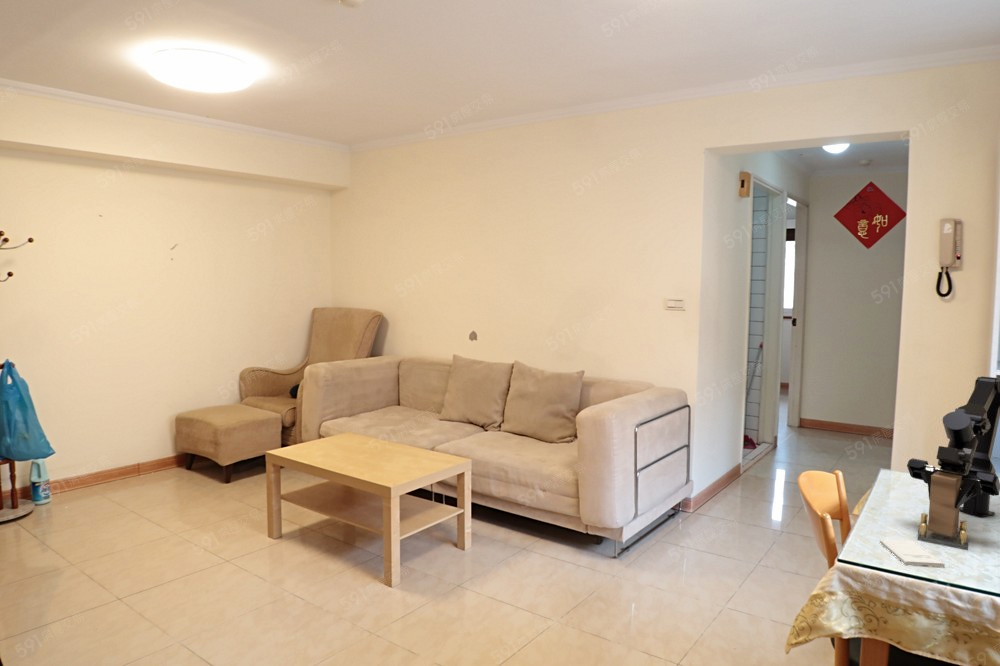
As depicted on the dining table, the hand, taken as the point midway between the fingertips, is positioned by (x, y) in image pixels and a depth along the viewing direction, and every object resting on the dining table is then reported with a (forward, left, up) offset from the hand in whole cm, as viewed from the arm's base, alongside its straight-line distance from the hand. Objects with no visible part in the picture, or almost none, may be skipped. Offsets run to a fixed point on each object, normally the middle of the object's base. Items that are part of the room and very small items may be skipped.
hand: (943, 504), depth 157 cm
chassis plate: (-1, 0, -9) cm, 9 cm away
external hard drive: (+16, +3, -10) cm, 19 cm away
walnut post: (-1, 0, -7) cm, 7 cm away
